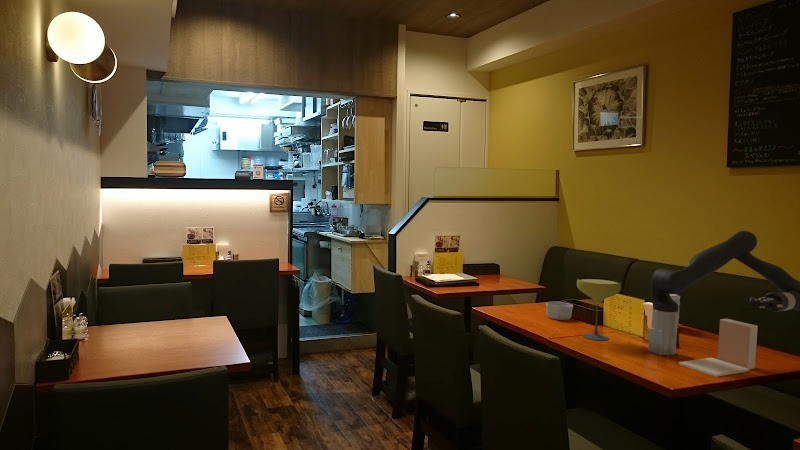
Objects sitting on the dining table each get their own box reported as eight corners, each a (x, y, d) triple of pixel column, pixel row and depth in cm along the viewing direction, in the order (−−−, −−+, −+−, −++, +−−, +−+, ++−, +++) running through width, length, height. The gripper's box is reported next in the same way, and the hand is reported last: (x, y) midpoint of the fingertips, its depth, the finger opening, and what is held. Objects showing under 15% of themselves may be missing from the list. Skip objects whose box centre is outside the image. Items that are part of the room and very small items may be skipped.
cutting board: (716, 376, 200) (716, 374, 200) (679, 364, 214) (679, 362, 214) (749, 371, 208) (749, 369, 208) (711, 359, 222) (711, 357, 221)
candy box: (678, 331, 266) (681, 296, 265) (665, 330, 267) (667, 295, 266) (670, 324, 280) (673, 291, 279) (658, 323, 281) (660, 290, 280)
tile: (747, 369, 210) (750, 326, 209) (716, 360, 221) (719, 319, 220) (754, 368, 212) (757, 325, 211) (723, 359, 223) (726, 318, 222)
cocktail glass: (594, 344, 237) (597, 284, 236) (565, 333, 254) (568, 277, 252) (627, 341, 245) (630, 283, 243) (596, 330, 261) (599, 276, 260)
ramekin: (551, 313, 296) (551, 300, 295) (576, 317, 288) (577, 304, 288) (541, 317, 285) (541, 304, 285) (567, 322, 277) (567, 308, 277)
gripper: (763, 289, 231) (735, 291, 224) (797, 295, 219) (769, 297, 212) (761, 307, 232) (734, 310, 224) (796, 314, 220) (768, 317, 212)
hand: (751, 304), depth 218 cm, fingers closed
